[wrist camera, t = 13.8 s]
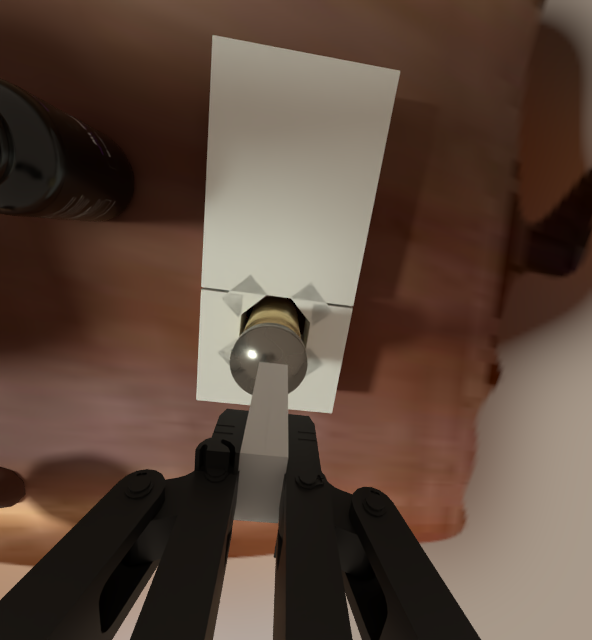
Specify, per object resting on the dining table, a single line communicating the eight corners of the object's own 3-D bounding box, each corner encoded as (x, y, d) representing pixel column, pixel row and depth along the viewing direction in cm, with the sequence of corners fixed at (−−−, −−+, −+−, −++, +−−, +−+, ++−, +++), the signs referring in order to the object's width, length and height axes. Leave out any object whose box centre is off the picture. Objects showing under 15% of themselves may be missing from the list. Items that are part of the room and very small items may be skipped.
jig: (208, 377, 29) (196, 399, 25) (225, 69, 22) (212, 35, 18) (325, 390, 30) (331, 413, 26) (380, 98, 22) (400, 70, 19)
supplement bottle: (136, 136, 23) (-16, 38, 11) (138, 226, 25) (10, 222, 13) (44, 121, 22) (-214, 3, 11) (53, 215, 24) (-157, 200, 13)
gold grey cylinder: (246, 339, 28) (226, 394, 18) (251, 290, 27) (232, 323, 17) (296, 344, 28) (301, 402, 19) (303, 297, 27) (312, 332, 17)
